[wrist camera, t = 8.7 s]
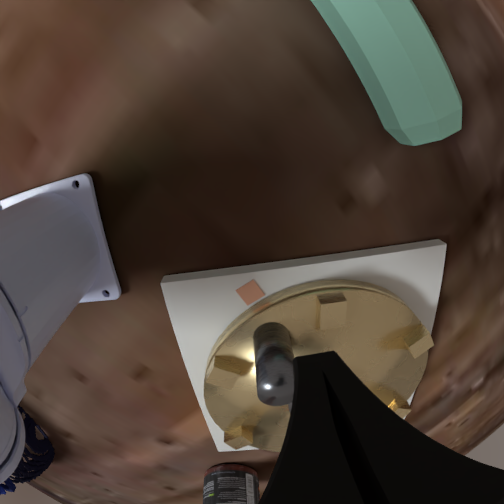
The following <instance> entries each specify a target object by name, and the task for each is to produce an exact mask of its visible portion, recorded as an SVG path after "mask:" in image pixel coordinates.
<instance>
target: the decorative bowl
mask: <svg viewBox="0 0 504 504" xmlns="http://www.w3.org/2000/svg"><path fill="white" fill-rule="evenodd" d="M17 407H19V412H20V414H22V413H24V414H25V416H26V418H25V419H24V421H23V422H24V427H25V442H26V443H27V445H28V446H29V447H30V448H31V449H32V450H33V451H34V452H35V453H38V454H39V453H40V454H41V453H42V454H43V455H40V456H39V455H38V456H37V455H34V454H31V453H30V452H29V451H28V449H27V448H26V447H25V446H24V452H25V453H26V454H27V455H25V454H24V453H23V454H22V456H23V457H24V458H25V460H26V461H27V463H26V462H24V460H23V457H21V460H20V462H19V464H18V467H17V468H16V469H15V470H14V472H15V473H12V474H11V475H13V476H16V477H15V478H14V477H12V476H9V477H10V478H12V479H14V480H11V479H10V478H9V477H8V478H7V479H6V480H5V481H4V482H5V484H6V485H4V484H2V483H1V484H0V494H6V492H5V490H6V491H10V492H14V491H15V489H16V487H15V484H13V482H14V483H19V482H21V483H23V482H25V481H26V482H27V481H28V482H30V480H32V479H36V477H38V476H40V474H42V472H43V471H45V469H47V468H48V467H49V465H50V464H51V462H52V461H53V458H54V454H55V453H54V450H55V449H54V448H53V447H52V444H51V442H50V441H49V439H48V437H47V436H46V434H45V433H44V432H43V431H42V429H41V428H40V427H39V425H37V424H36V423H35V422H34V420H33V419H32V418H30V417H29V415H28V414H26V413H25V411H24V410H23V409H22V407H20V406H19V405H18V406H17ZM35 426H36V427H37V428H38V429H39V431H40V432H41V433H42V434H43V436H44V438H45V439H44V440H43V439H42V440H38V439H37V438H36V434H35V433H36V432H35V430H36V429H35ZM47 450H48V452H47ZM45 452H47V453H45ZM44 453H45V455H44ZM26 456H27V457H30V458H33V459H32V460H28V458H27V457H26ZM32 470H34V471H32ZM28 471H29V472H28ZM30 471H31V472H30ZM21 473H22V474H21ZM19 477H21V478H19ZM23 477H24V478H23Z"/></svg>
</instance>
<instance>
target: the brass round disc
mask: <svg viewBox="0 0 504 504" xmlns="http://www.w3.org/2000/svg"><path fill="white" fill-rule="evenodd" d="M432 346H434V343H433V340H432V338H431V335H430V332H429V331H428V330H427V329H426V327H425V326H424V325H423V324H422V323H421V321H420V320H419V319H418V318H417V316H416V315H415V314H414V313H413V311H412V310H411V309H410V308H409V307H408V306H407V304H406V303H405V302H404V301H403V300H402V299H401V298H399V297H398V296H397V295H396V294H394V293H393V292H391V291H389V290H387V289H385V288H384V287H381V286H378V285H375V284H372V283H368V282H363V281H358V280H345V279H335V280H322V281H316V282H311V283H305V284H302V285H298V286H295V287H291V288H288V289H285V290H283V291H281V292H278V293H276V294H273V295H271V296H269V297H267V298H265V299H263V300H262V301H260V302H258V303H256V304H254V305H253V306H251V307H250V308H249V309H247V310H246V311H244V312H243V313H242V314H240V315H239V316H238V317H237V318H236V319H235V320H234V321H233V322H231V323H230V324H229V325H228V326H227V328H226V329H225V330H224V331H223V332H222V334H221V335H220V336H219V337H218V339H217V341H216V342H215V344H214V346H213V347H212V350H211V352H210V355H209V357H208V360H207V365H206V370H205V378H204V400H205V405H206V408H207V410H208V412H209V414H210V416H211V418H212V419H213V420H214V422H215V423H216V424H217V425H218V426H219V427H220V428H221V429H222V430H223V431H224V443H225V444H227V445H229V446H230V447H232V448H233V449H235V450H237V449H240V448H242V447H245V446H248V445H249V446H252V447H255V448H258V449H263V450H268V451H274V452H280V451H281V448H282V445H283V442H284V438H285V435H286V431H287V427H288V422H289V418H290V414H291V408H292V401H293V394H294V377H293V359H294V358H295V357H297V356H304V355H310V354H316V353H322V352H327V351H333V350H334V351H335V352H337V354H338V355H339V356H340V357H341V359H342V360H343V361H344V362H345V363H346V365H347V366H348V367H349V368H350V369H351V370H352V371H353V372H354V374H355V375H356V376H357V377H358V378H359V379H360V380H361V381H362V382H363V383H364V384H365V385H366V386H367V387H368V388H369V389H370V390H371V391H372V392H373V393H374V394H375V395H376V396H377V397H378V398H379V399H380V400H381V401H382V402H383V403H384V404H386V405H387V406H388V407H389V408H390V409H391V410H393V411H394V412H395V413H396V414H397V415H399V416H400V417H401V418H402V419H403V418H404V417H405V416H406V415H407V414H408V413H409V412H410V411H411V410H412V409H411V407H410V406H409V404H408V402H407V400H408V399H409V398H410V397H411V395H412V394H413V392H414V391H415V390H416V388H417V386H418V384H419V383H420V381H421V379H422V376H423V374H424V371H425V368H426V364H427V360H428V350H429V349H430V348H431V347H432Z"/></svg>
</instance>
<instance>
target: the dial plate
mask: <svg viewBox="0 0 504 504" xmlns="http://www.w3.org/2000/svg"><path fill="white" fill-rule="evenodd" d="M446 246H447V244H446V243H444V242H443V241H441V240H440V239H435V240H428V241H421V242H414V243H408V244H401V245H394V246H387V247H380V248H373V249H365V250H358V251H351V252H344V253H337V254H329V255H322V256H314V257H307V258H300V259H292V260H284V261H277V262H269V263H261V264H254V265H246V266H238V267H230V268H222V269H214V270H206V271H198V272H190V273H182V274H173V275H165V276H163V279H162V281H161V283H160V284H161V288H162V291H163V295H164V298H165V302H166V305H167V309H168V312H169V316H170V319H171V322H172V326H173V329H174V332H175V335H176V338H177V341H178V345H179V348H180V351H181V354H182V357H183V360H184V363H185V366H186V368H187V371H188V374H189V377H190V380H191V383H192V385H193V388H194V391H195V394H196V396H197V399H198V402H199V404H200V407H201V410H202V412H203V415H204V417H205V420H206V422H207V425H208V427H209V430H210V432H211V435H212V437H213V440H214V442H215V444H216V447H217V449H218V451H219V452H221V451H238V450H251V449H258V448H255V447H252V446H249V445H248V446H245V447H242V448H240V449H237V450H235V449H233V448H232V447H230V446H229V445H227V444H225V443H224V431H223V430H222V429H221V428H220V427H219V426H218V425H217V424H216V423H215V422H214V420H213V419H212V418H211V416H210V414H209V412H208V410H207V408H206V405H205V400H204V378H205V370H206V365H207V360H208V357H209V355H210V352H211V350H212V347H213V346H214V344H215V342H216V341H217V339H218V337H219V336H220V335H221V334H222V332H223V331H224V330H225V329H226V328H227V326H228V325H229V324H230V323H231V322H233V321H234V320H235V319H236V318H237V317H238V316H239V315H240V314H242V313H243V312H244V311H246V310H247V309H249V308H250V307H251V306H253V305H254V304H256V303H258V302H260V301H262V300H263V299H265V298H267V297H269V296H271V295H273V294H276V293H278V292H281V291H283V290H285V289H288V288H291V287H295V286H298V285H302V284H305V283H311V282H316V281H322V280H335V279H345V280H358V281H363V282H368V283H372V284H375V285H378V286H381V287H384V288H385V289H387V290H389V291H391V292H393V293H394V294H396V295H397V296H398V297H399V298H401V299H402V300H403V301H404V302H405V303H406V304H407V306H408V307H409V308H410V309H411V310H412V311H413V313H414V314H415V315H416V316H417V318H418V319H419V320H420V321H421V323H422V324H423V325H424V326H425V327H426V329H427V330H428V331H429V332H430V335H431V332H432V328H433V324H434V319H435V314H436V310H437V305H438V299H439V294H440V288H441V282H442V276H443V269H444V262H445V255H446ZM414 392H415V391H414ZM414 392H413V394H412V395H411V397H410V398H409V399H408V400H407V402H408V404H409V406H410V404H411V401H412V398H413V395H414ZM405 417H406V416H405ZM405 417H404V418H403V419H405Z"/></svg>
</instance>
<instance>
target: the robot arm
mask: <svg viewBox="0 0 504 504" xmlns="http://www.w3.org/2000/svg"><path fill="white" fill-rule="evenodd" d="M76 180H77V181H78V182H79V188H78V187H76V185H75V182H76ZM1 206H2V209H1ZM105 290H107V291H108V292H109V294H107V293H106V292H105ZM120 295H121V288H120V284H119V281H118V278H117V275H116V272H115V268H114V265H113V262H112V258H111V255H110V251H109V248H108V244H107V240H106V237H105V233H104V229H103V225H102V221H101V217H100V213H99V208H98V204H97V200H96V195H95V190H94V185H93V181H92V178H91V176H90V175H89V174H87V173H83V174H80V175H76V176H73V177H69V178H66V179H62V180H59V181H56V182H53V183H49V184H46V185H43V186H40V187H37V188H34V189H31V190H28V191H25V192H22V193H19V194H17V195H14V196H11V197H8V198H6V199H3V200H0V484H1V483H2V482H4V481H5V480H6V479H7V478H8V477H9V476H10V475H11V474H12V473H13V472H14V470H15V469H16V468H17V466H18V464H19V462H20V460H21V457H22V454H23V451H24V446H25V427H24V422H23V419H22V416H21V414H20V412H19V410H18V408H17V406H18V405H19V403H20V401H21V400H22V398H23V396H24V395H25V393H26V391H27V390H26V387H25V384H24V377H25V375H26V373H27V372H28V371H29V369H30V368H31V366H32V365H33V363H34V362H35V360H36V359H37V357H38V356H39V355H40V353H41V352H42V350H43V349H44V348H45V346H46V345H47V343H48V342H49V341H50V339H51V338H52V337H53V335H54V334H55V333H56V331H57V330H58V329H59V327H60V326H61V325H62V323H63V322H64V321H65V319H66V318H67V317H68V316H69V314H70V313H71V312H72V310H73V309H74V308H75V307H76V305H77V304H78V303H80V302H92V301H103V300H115V299H118V298H119V297H120ZM293 377H294V394H293V401H292V408H291V414H290V418H289V422H288V427H287V431H286V435H285V438H284V442H283V445H282V448H281V451H280V454H279V457H278V460H277V463H276V465H275V468H274V470H273V473H272V475H271V478H270V480H269V482H268V484H267V487H266V489H265V491H264V493H263V495H262V497H261V499H260V501H259V503H258V504H504V470H502V469H499V468H496V467H492V466H489V465H486V464H483V463H480V462H478V461H475V460H473V459H470V458H468V457H466V456H463V455H461V454H459V453H457V452H455V451H453V450H451V449H449V448H448V447H446V446H444V445H442V444H440V443H438V442H436V441H435V440H433V439H431V438H430V437H428V436H427V435H425V434H423V433H422V432H420V431H419V430H417V429H416V428H415V427H413V426H412V425H410V424H409V423H408V422H406V421H405V420H404V419H402V418H401V417H400V416H399V415H397V414H396V413H395V412H394V411H393V410H391V409H390V408H389V407H388V406H387V405H386V404H384V403H383V402H382V401H381V400H380V399H379V398H378V397H377V396H376V395H375V394H374V393H373V392H372V391H371V390H370V389H369V388H368V387H367V386H366V385H365V384H364V383H363V382H362V381H361V380H360V379H359V378H358V377H357V376H356V375H355V374H354V372H353V371H352V370H351V369H350V368H349V367H348V366H347V365H346V363H345V362H344V361H343V360H342V359H341V357H340V356H339V355H338V354H337V352H335V351H334V350H333V351H327V352H322V353H316V354H310V355H304V356H297V357H295V358H294V359H293Z"/></svg>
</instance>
